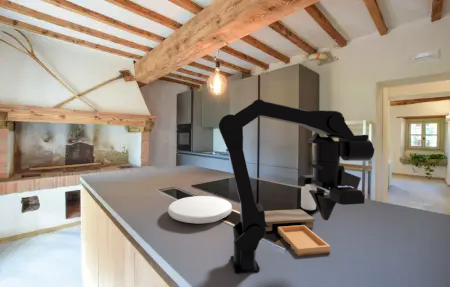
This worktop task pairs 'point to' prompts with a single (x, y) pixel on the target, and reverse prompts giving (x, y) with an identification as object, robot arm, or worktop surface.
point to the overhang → (288, 218)
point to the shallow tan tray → (303, 240)
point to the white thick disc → (199, 209)
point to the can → (307, 198)
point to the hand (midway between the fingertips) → (325, 219)
